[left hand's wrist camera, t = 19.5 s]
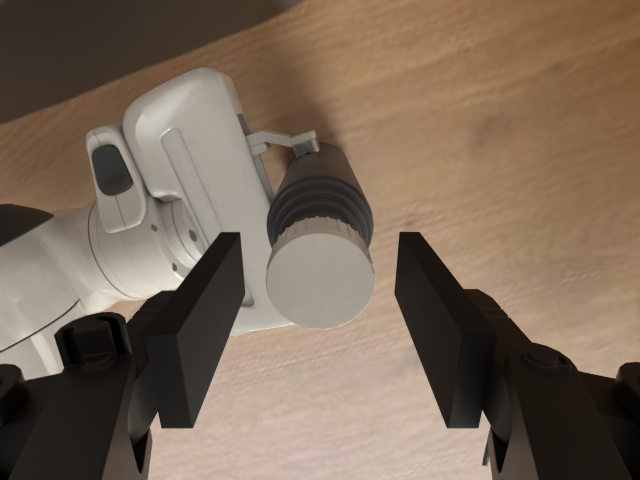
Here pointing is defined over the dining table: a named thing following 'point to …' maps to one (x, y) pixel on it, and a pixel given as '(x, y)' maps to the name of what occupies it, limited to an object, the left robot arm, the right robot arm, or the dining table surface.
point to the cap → (319, 273)
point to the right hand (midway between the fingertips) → (331, 183)
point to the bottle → (320, 194)
